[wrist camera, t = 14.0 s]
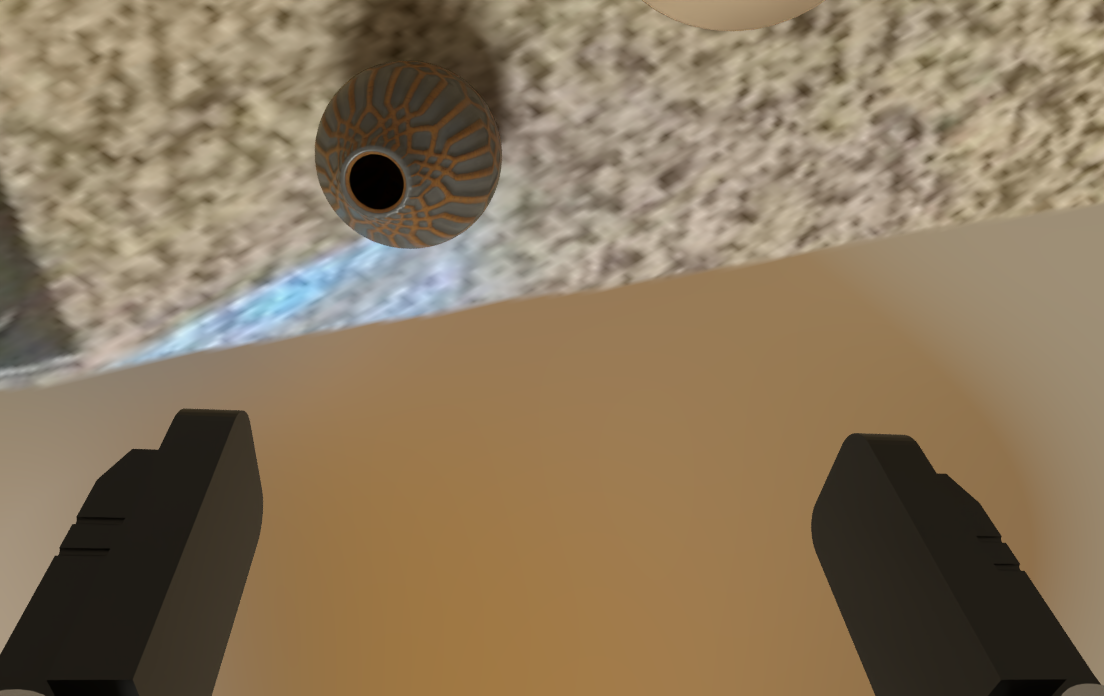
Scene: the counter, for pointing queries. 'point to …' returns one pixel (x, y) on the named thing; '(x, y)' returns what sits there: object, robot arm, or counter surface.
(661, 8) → the trivet
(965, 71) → the counter surface
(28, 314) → the counter surface
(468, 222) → the vase
